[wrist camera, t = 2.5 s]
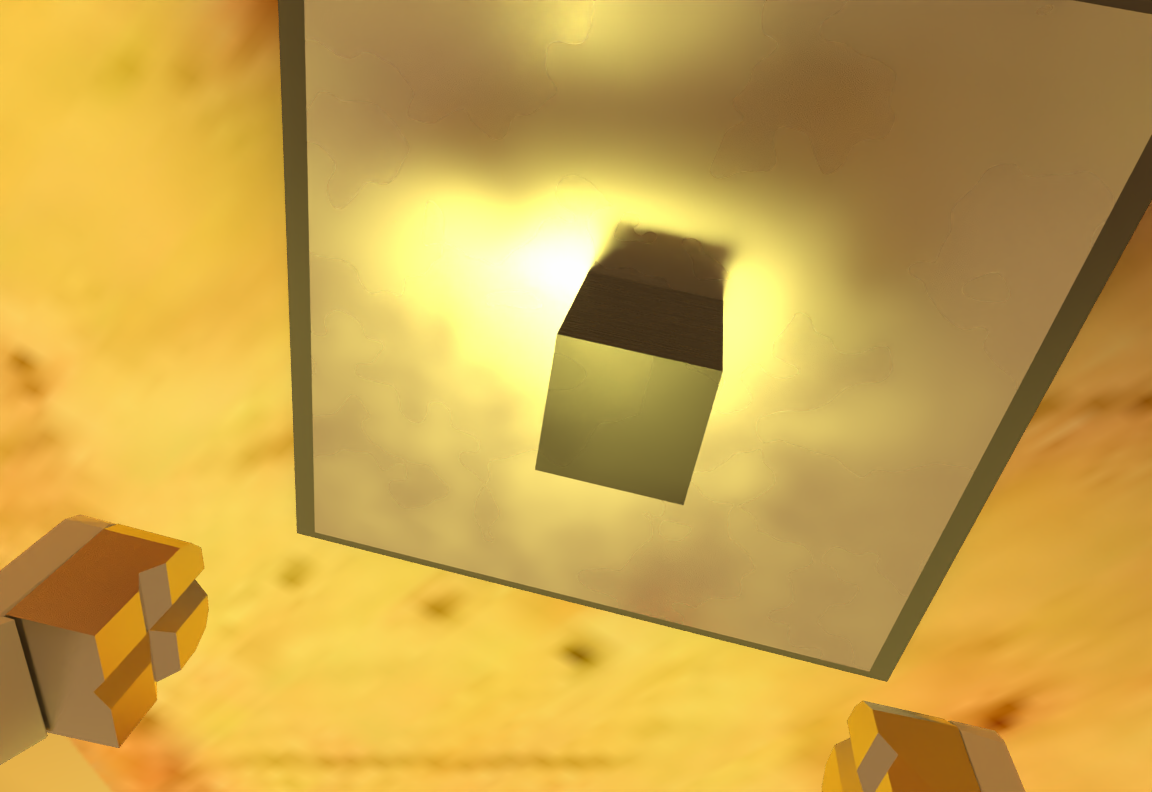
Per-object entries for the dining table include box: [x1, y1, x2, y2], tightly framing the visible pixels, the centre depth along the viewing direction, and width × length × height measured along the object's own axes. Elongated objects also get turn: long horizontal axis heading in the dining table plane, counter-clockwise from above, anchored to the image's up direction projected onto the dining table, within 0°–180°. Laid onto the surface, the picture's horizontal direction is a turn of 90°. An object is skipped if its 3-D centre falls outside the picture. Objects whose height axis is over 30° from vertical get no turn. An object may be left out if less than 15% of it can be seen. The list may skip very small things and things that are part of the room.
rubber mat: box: [278, 0, 1152, 682], centre depth 18 cm, size 18×18×1 cm
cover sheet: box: [304, 0, 1152, 671], centre depth 16 cm, size 16×16×4 cm
